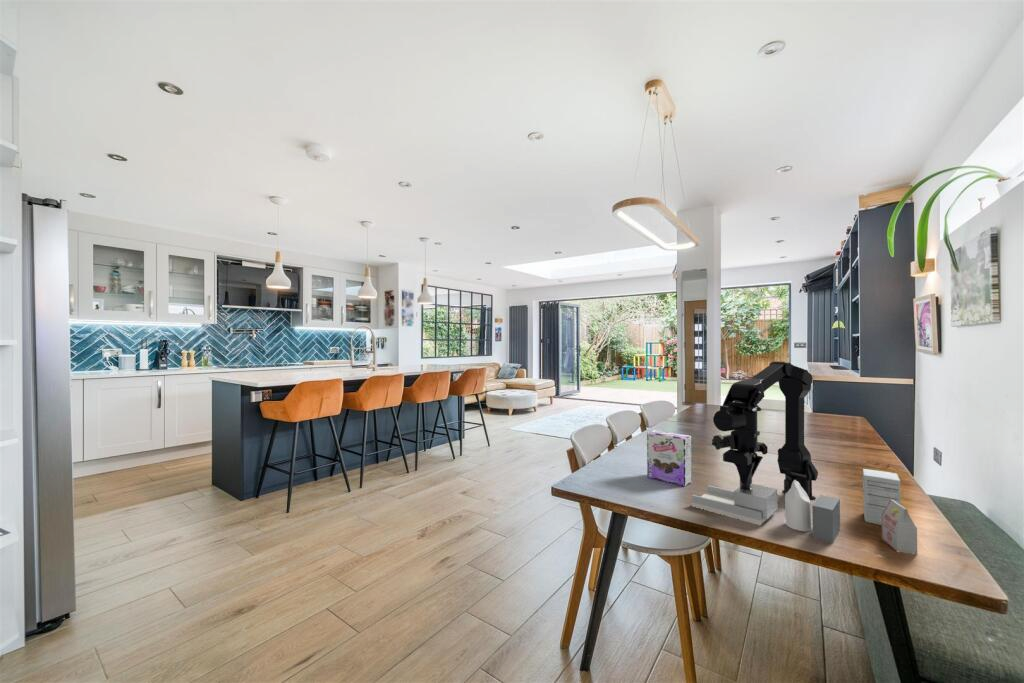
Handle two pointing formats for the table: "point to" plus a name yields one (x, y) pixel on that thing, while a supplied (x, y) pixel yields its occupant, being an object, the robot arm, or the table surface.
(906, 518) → the gable top carton
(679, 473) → the candy box
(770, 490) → the block
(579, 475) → the table surface
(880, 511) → the supplement box
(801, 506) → the white pouch
